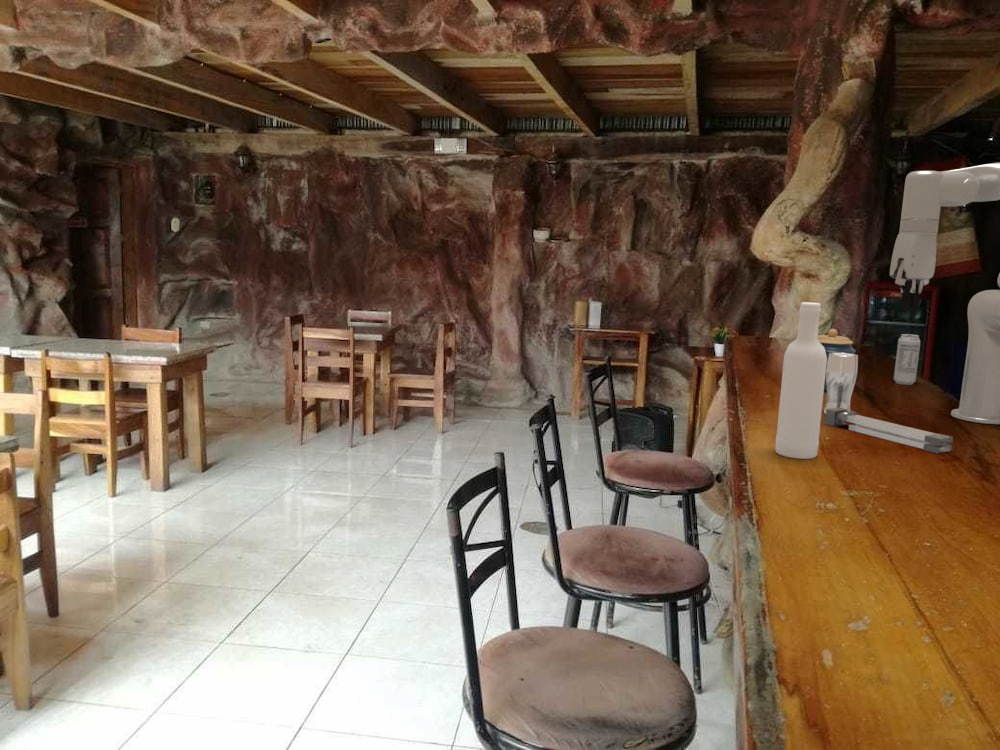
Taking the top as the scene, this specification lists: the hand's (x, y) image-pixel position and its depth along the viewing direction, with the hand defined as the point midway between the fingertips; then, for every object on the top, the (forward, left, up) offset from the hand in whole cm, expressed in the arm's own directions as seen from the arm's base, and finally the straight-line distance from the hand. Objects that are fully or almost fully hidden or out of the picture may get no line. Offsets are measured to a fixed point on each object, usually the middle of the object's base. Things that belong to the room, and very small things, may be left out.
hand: (908, 310), depth 174 cm
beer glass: (+2, -14, -27) cm, 31 cm away
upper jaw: (+12, +7, -26) cm, 29 cm away
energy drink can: (-57, -35, -27) cm, 72 cm away
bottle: (+42, +7, -27) cm, 51 cm away
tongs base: (+12, +5, -27) cm, 30 cm away
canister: (-25, -38, -27) cm, 53 cm away
